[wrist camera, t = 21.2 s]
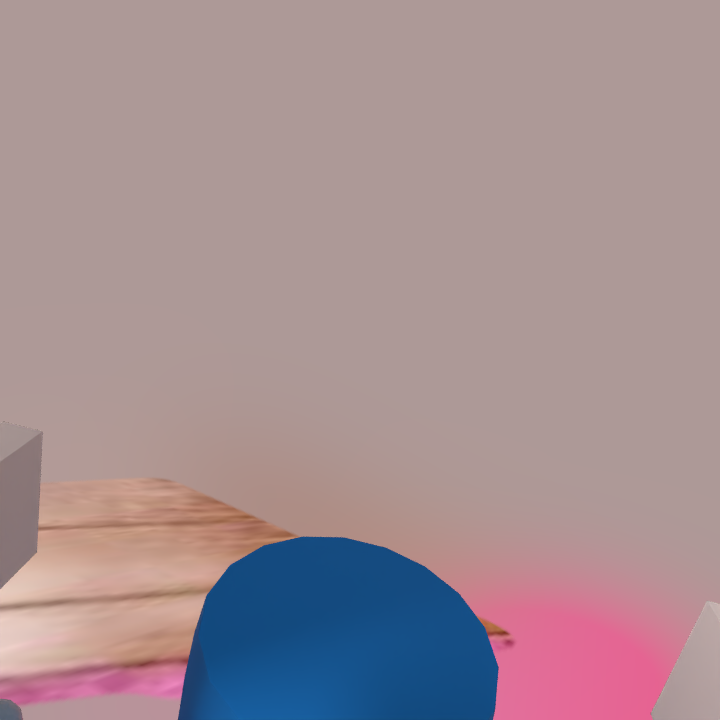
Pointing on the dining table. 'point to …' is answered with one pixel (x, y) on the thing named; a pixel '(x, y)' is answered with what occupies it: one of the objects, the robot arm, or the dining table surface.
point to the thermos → (336, 640)
